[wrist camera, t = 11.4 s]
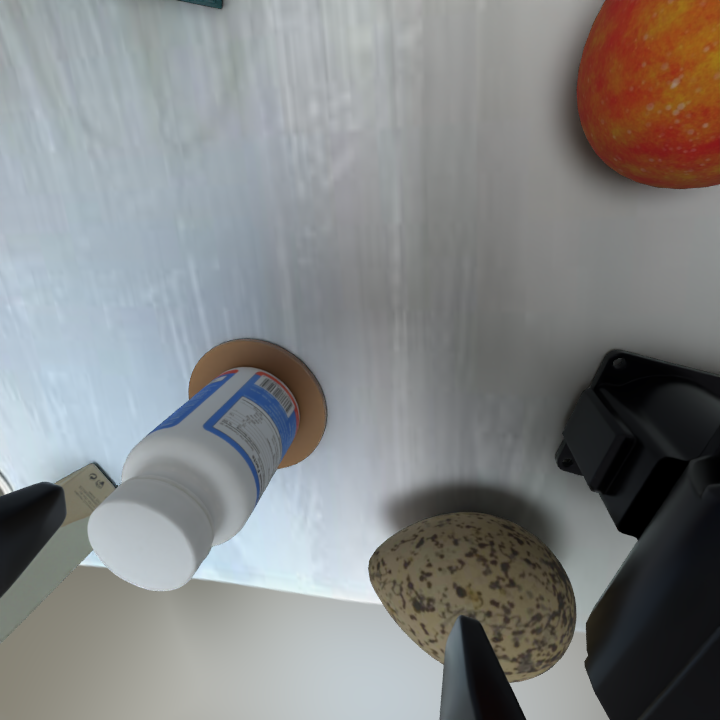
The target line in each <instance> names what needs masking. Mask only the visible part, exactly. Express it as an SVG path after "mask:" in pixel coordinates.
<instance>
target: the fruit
mask: <svg viewBox="0 0 720 720" xmlns="http://www.w3.org/2000/svg"><path fill="white" fill-rule="evenodd" d="M577 107H578V113H579V117H580V122H581V126H582V128H583V130H584V133H585V135H586V138H587V140H588V142H589V143H590V145H591V146H592V148H593V149H594V151H595V153H596V154H597V155H598V156H599V157H600V158H601V159H602V160H603V161H604V162H605V163H606V165H608V166H609V167H610V168H612V169H613V170H615V171H616V172H617V173H619V174H620V175H622V176H624V177H627V178H629V179H631V180H633V181H635V182H638V183H642V184H646V185H650V186H654V187H659V188H672V189H688V188H701V187H709V186H713V185H718V184H720V0H605V2H604V4H603V6H602V8H601V10H600V11H599V13H598V15H597V17H596V19H595V21H594V23H593V25H592V28H591V30H590V33H589V36H588V38H587V41H586V44H585V46H584V50H583V54H582V58H581V62H580V66H579V71H578V81H577Z"/></svg>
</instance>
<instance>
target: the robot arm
mask: <svg viewBox="0 0 720 720" xmlns="http://www.w3.org/2000/svg"><path fill="white" fill-rule="evenodd" d="M618 358H622V362H621V363H620V364H619V365H613V362H614V361H615V360H616V359H618ZM562 434H563V437H564V440H563V442H562V444H561V446H560V448H559V450H558V452H557V454H556V456H555V460H556V463H557V465H558V467H559V468H560V469H561V470H563V471H567V472H570V473H574V474H577V475H581V476H584V478H585V480H586V482H587V484H588V486H589V488H590V490H591V491H593V492H596V493H599V495H600V497H601V499H602V501H603V502H604V504H605V506H606V508H607V510H608V512H609V514H610V516H611V518H612V520H613V522H614V523H615V525H616V527H617V529H618V531H619V532H621V533H623V534H627V535H630V536H634V537H636V538H637V540H638V541H637V543H636V544H635V546H634V547H633V549H632V550H631V552H630V553H629V555H628V556H627V558H626V559H625V561H624V562H623V564H622V565H621V567H620V568H619V570H618V571H617V573H616V575H615V576H614V578H613V579H612V581H611V582H610V584H609V585H608V587H607V588H606V590H605V591H604V593H603V594H602V596H601V597H600V599H599V600H598V602H597V603H596V605H595V606H594V608H593V610H592V612H591V614H590V616H589V618H588V620H587V622H586V640H587V653H588V657H587V658H586V660H585V668H586V671H587V674H588V676H589V679H590V681H591V684H592V687H593V690H594V692H595V694H596V696H597V697H598V699H599V701H600V703H601V705H602V706H603V708H604V710H605V712H606V714H607V715H608V717H609V719H610V720H720V375H717V374H713V373H709V372H705V371H701V370H697V369H694V368H690V367H686V366H682V365H678V364H674V363H670V362H666V361H662V360H658V359H654V358H651V357H647V356H643V355H639V354H635V353H631V352H627V351H623V350H613V351H611V352H609V353H608V354H607V355H606V356H605V358H604V360H603V362H602V364H601V366H600V368H599V370H598V372H597V374H596V376H595V378H594V380H593V382H592V384H591V386H590V388H588V389H586V390H584V391H583V392H582V394H581V396H580V398H579V400H578V402H577V404H576V406H575V408H574V410H573V412H572V414H571V416H570V418H569V420H568V422H567V425H566V427H565V429H564V431H563V433H562ZM567 458H570V459H571V460H570V461H569V462H563V460H564V459H567ZM66 515H67V509H66V501H65V492H64V489H63V488H62V487H61V486H59V485H56V484H53V483H50V482H41V483H37V484H34V485H32V486H29V487H26V488H23V489H20V490H17V491H14V492H11V493H9V494H6V495H3V496H0V598H1V597H2V596H3V595H4V594H5V593H6V592H7V591H8V589H9V588H10V587H11V586H12V585H13V584H14V583H15V581H16V580H17V579H18V578H19V577H20V575H21V574H22V573H23V572H24V571H25V569H26V568H27V567H28V566H29V564H30V563H31V562H32V561H33V560H34V558H35V557H36V556H37V555H38V553H39V552H40V551H41V550H42V549H43V547H44V546H45V545H46V544H47V542H48V541H49V540H50V539H51V537H52V536H53V535H54V534H55V533H56V531H57V530H58V529H59V528H60V526H61V525H62V524H63V522H64V520H65V518H66ZM440 720H526V718H525V716H524V714H523V711H522V709H521V707H520V705H519V703H518V701H517V699H516V697H515V694H514V692H513V690H512V688H511V686H510V684H509V682H508V680H507V677H506V675H505V673H504V671H503V669H502V667H501V665H500V662H499V660H498V658H497V656H496V654H495V652H494V650H493V648H492V645H491V643H490V641H489V639H488V637H487V635H486V633H485V631H484V628H483V626H482V624H481V623H480V622H479V621H478V620H477V619H475V618H471V617H468V616H465V615H459V616H458V617H457V619H456V621H455V623H454V625H453V628H452V630H451V632H450V634H449V636H448V639H447V642H446V647H445V657H444V669H443V683H442V695H441V708H440Z"/></svg>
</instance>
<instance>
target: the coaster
mask: <svg viewBox="0 0 720 720" xmlns="http://www.w3.org/2000/svg"><path fill="white" fill-rule="evenodd" d="M238 367H252V368H257V369H261V370H264V371H266V372H268V373H270V374H272V375H273V376H275V377H277V378H278V379H279V380H281V381H282V382H283V383H284V384H285V385H286V386H287V387H288V389H289V390H290V391H291V393H292V394H293V396H294V398H295V400H296V402H297V404H298V408H299V415H300V420H299V427H298V431H297V433H296V436H295V438H294V440H293V442H292V443H291V445H290V447H289V448H288V450H287V452H286V454H285V455H284V457H283V459H282V461H281V462H280V464H279V466H278V468H277V469H280V468H285V467H289V466H292V465H294V464H297V463H299V462H300V461H302V460H304V459H305V458H306V457H308V456H309V455H310V454H311V453H312V452H313V451H314V450H315V448H316V447H317V445H318V444H319V442H320V440H321V438H322V436H323V433H324V430H325V426H326V419H327V410H326V403H325V399H324V396H323V392H322V390H321V388H320V386H319V383H318V382H317V380H316V378H315V377H314V375H313V374H312V373H311V371H310V370H309V369H308V368H307V367H306V366H305V365H304V364H303V363H302V362H301V361H300V360H299V359H298V358H297V357H295V356H294V355H293V354H291V353H290V352H288V351H287V350H285V349H283V348H281V347H279V346H277V345H275V344H272V343H269V342H266V341H261V340H256V339H237V340H232V341H228V342H225V343H222V344H220V345H218V346H216V347H214V348H213V349H211V350H210V351H209V352H207V353H206V354H205V355H204V356H203V357H202V358H201V359H200V360H199V362H198V363H197V365H196V366H195V368H194V370H193V372H192V375H191V378H190V382H189V400H190V399H191V398H192V397H193V396H194V395H195V394H197V393H198V392H199V391H200V390H202V389H203V388H204V387H205V386H206V385H207V384H209V383H210V382H211V381H212V380H213V379H215V378H216V377H217V376H219V375H220V374H222V373H224V372H225V371H227V370H230V369H233V368H238Z"/></svg>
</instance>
